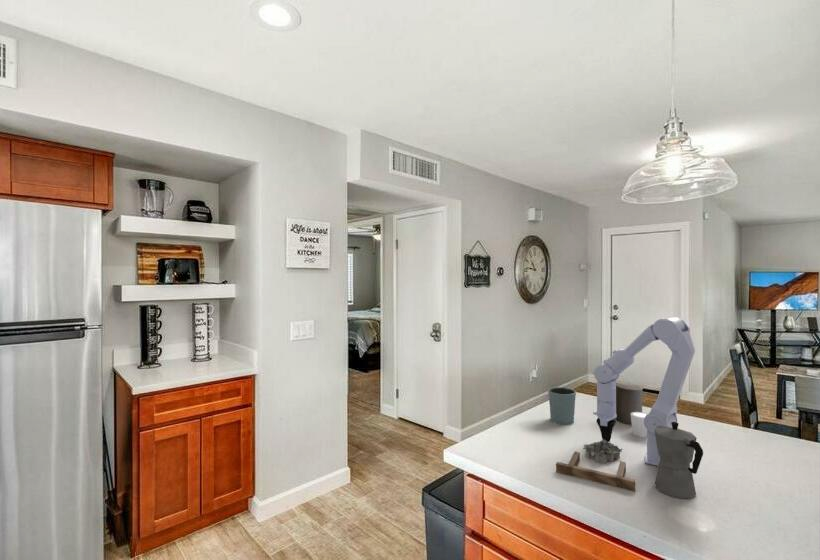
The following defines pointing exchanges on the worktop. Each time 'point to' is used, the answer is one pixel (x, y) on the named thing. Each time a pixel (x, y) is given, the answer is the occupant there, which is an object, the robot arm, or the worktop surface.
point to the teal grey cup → (562, 405)
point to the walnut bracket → (596, 473)
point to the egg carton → (607, 451)
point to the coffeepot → (676, 461)
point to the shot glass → (638, 424)
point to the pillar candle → (627, 401)
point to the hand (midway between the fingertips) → (606, 440)
